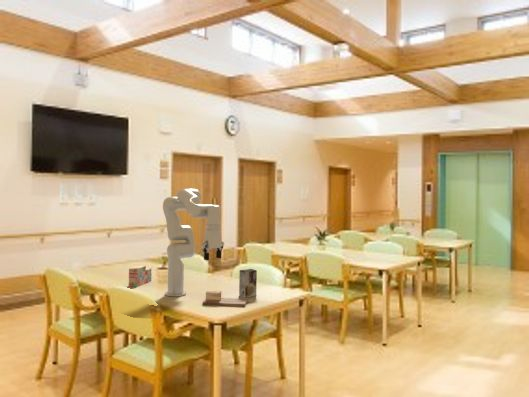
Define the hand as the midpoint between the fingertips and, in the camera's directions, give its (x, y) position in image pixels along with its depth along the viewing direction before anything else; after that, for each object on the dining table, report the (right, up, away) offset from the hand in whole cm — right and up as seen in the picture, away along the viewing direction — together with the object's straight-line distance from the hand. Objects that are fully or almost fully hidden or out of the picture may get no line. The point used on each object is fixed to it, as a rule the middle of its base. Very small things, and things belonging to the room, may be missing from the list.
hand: (212, 259), depth 256 cm
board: (+6, -27, +12) cm, 30 cm away
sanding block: (-1, -25, +13) cm, 28 cm away
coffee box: (+18, -27, +32) cm, 46 cm away
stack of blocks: (-56, -25, +60) cm, 86 cm away
